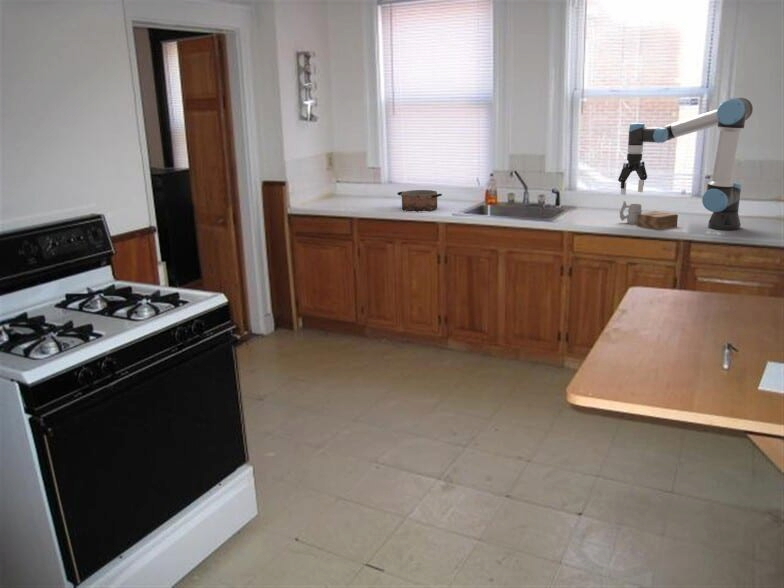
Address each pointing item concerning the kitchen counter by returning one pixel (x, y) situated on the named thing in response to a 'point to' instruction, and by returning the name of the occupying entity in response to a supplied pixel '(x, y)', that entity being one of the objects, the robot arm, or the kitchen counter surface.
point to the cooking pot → (419, 200)
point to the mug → (631, 212)
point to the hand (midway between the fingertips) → (631, 193)
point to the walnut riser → (657, 220)
